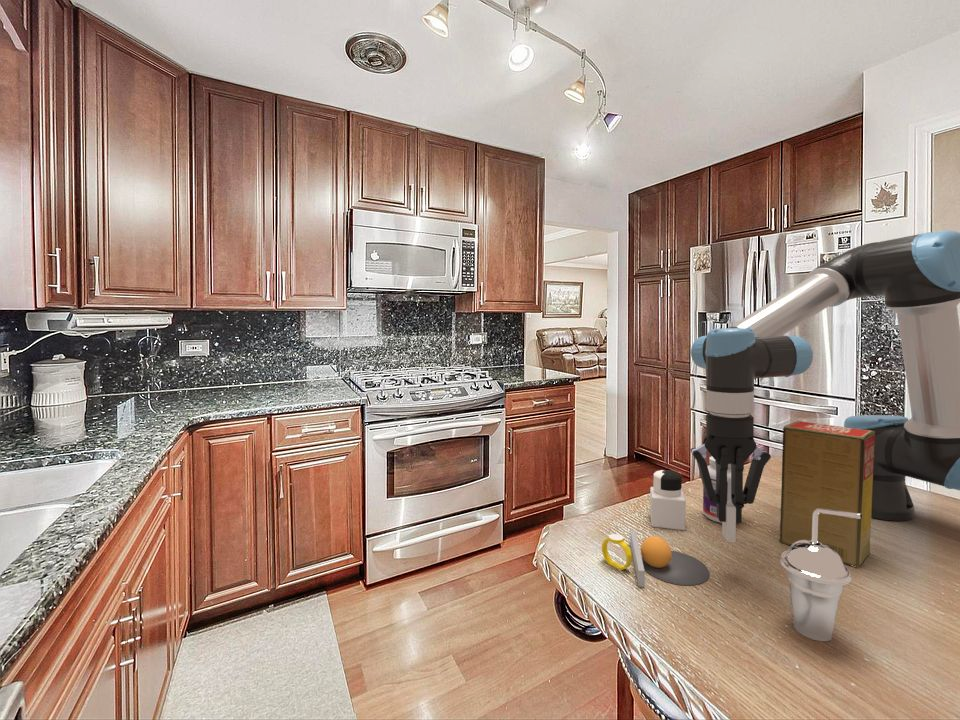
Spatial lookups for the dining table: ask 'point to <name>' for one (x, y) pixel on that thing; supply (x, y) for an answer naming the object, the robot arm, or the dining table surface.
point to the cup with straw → (815, 581)
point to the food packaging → (828, 486)
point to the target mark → (680, 570)
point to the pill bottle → (709, 506)
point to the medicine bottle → (667, 501)
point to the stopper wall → (637, 559)
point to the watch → (620, 540)
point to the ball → (656, 552)
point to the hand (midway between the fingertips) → (728, 537)
